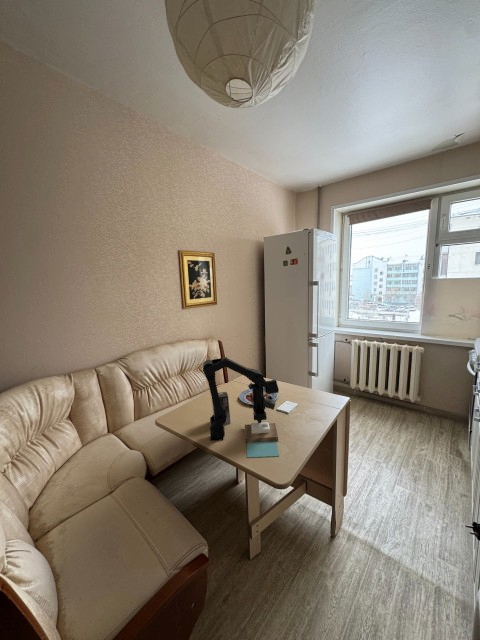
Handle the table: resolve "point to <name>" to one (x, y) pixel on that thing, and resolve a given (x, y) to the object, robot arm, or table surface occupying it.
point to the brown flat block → (261, 434)
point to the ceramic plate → (248, 396)
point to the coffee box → (224, 401)
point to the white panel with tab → (260, 427)
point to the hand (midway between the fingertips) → (259, 423)
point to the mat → (262, 449)
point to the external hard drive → (287, 407)
